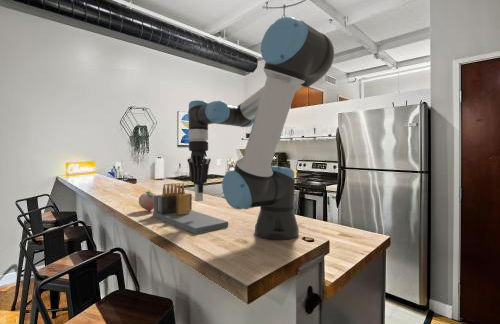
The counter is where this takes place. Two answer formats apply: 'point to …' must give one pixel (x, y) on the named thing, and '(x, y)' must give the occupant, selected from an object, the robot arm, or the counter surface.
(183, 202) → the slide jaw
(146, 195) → the decorative fruit
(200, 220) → the vise base
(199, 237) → the counter surface
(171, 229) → the counter surface
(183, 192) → the ammunition clip
